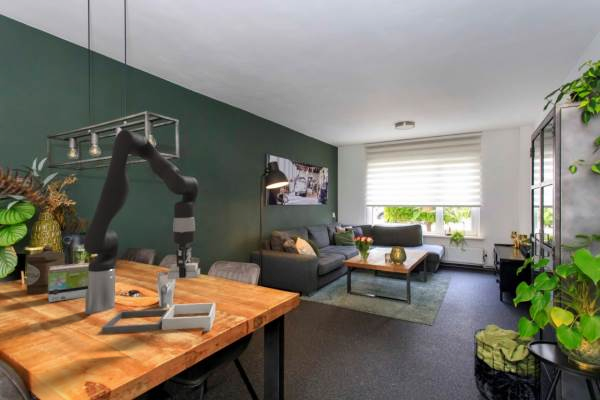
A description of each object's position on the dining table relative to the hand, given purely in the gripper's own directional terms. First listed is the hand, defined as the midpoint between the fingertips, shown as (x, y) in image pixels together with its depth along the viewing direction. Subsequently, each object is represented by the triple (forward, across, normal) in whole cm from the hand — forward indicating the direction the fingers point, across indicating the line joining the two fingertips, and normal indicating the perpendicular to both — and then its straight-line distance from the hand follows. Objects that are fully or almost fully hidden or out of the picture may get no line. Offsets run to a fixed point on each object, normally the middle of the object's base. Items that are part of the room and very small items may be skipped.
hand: (184, 275), depth 109 cm
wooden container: (+17, -54, -79) cm, 97 cm away
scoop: (0, 0, 0) cm, 0 cm away
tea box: (+17, -40, -61) cm, 75 cm away
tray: (+18, 0, -16) cm, 24 cm away
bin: (+18, 0, +2) cm, 18 cm away
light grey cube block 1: (0, 0, -2) cm, 2 cm away
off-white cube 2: (0, 0, +2) cm, 2 cm away
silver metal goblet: (+18, -18, -12) cm, 28 cm away
